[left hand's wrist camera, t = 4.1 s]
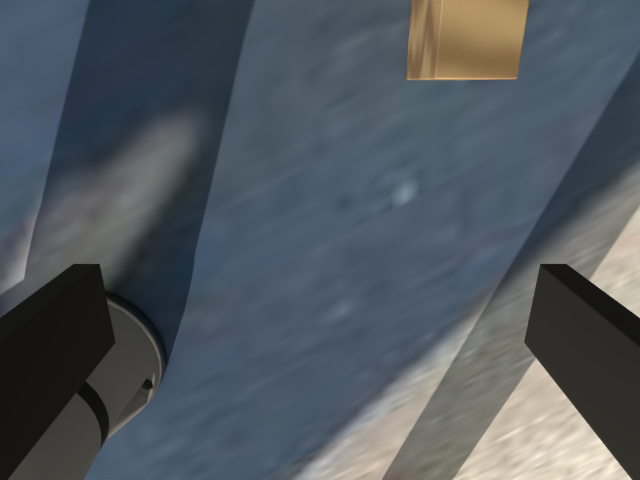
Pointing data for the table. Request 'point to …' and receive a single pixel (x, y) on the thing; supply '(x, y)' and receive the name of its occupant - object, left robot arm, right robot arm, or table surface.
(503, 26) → the ash beam
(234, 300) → the table surface
